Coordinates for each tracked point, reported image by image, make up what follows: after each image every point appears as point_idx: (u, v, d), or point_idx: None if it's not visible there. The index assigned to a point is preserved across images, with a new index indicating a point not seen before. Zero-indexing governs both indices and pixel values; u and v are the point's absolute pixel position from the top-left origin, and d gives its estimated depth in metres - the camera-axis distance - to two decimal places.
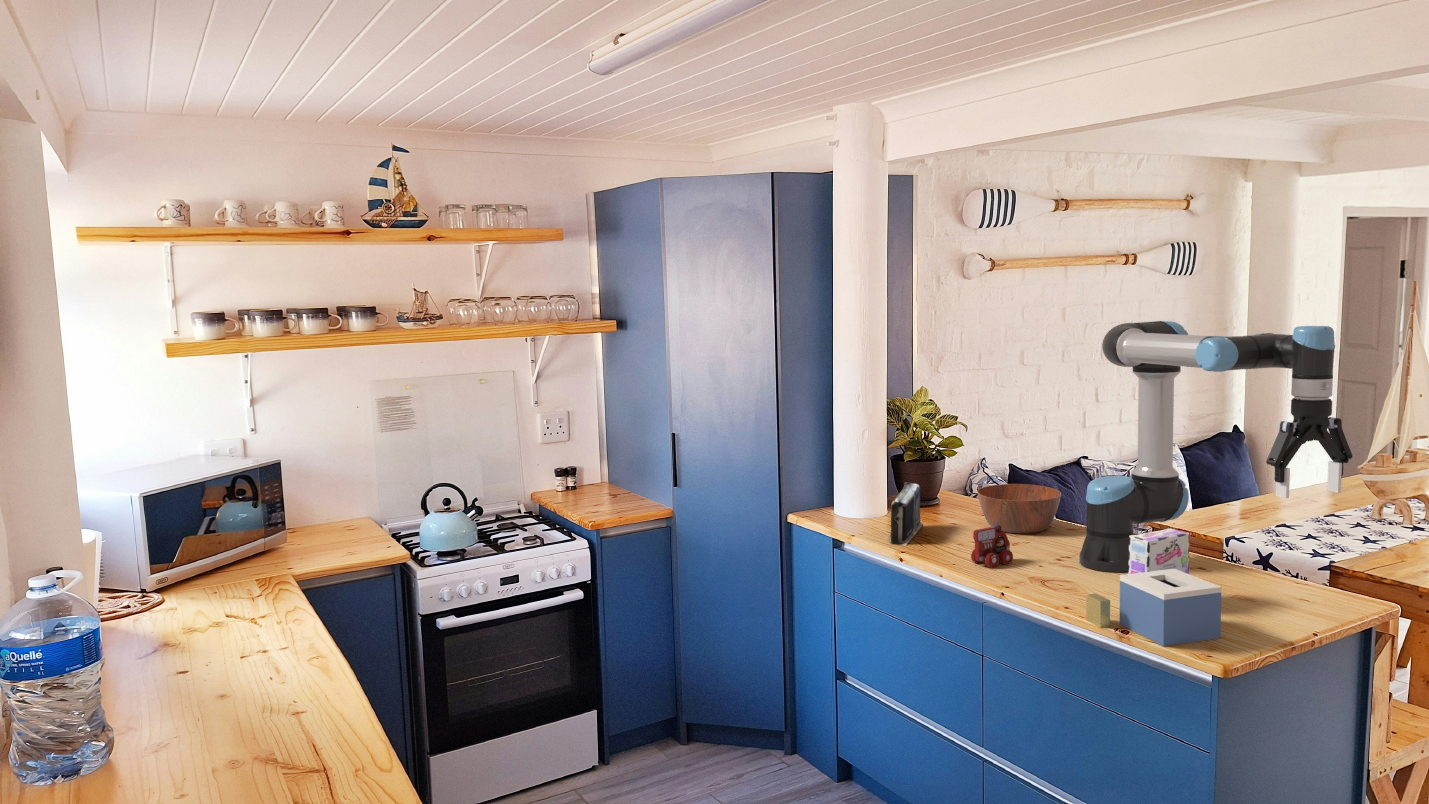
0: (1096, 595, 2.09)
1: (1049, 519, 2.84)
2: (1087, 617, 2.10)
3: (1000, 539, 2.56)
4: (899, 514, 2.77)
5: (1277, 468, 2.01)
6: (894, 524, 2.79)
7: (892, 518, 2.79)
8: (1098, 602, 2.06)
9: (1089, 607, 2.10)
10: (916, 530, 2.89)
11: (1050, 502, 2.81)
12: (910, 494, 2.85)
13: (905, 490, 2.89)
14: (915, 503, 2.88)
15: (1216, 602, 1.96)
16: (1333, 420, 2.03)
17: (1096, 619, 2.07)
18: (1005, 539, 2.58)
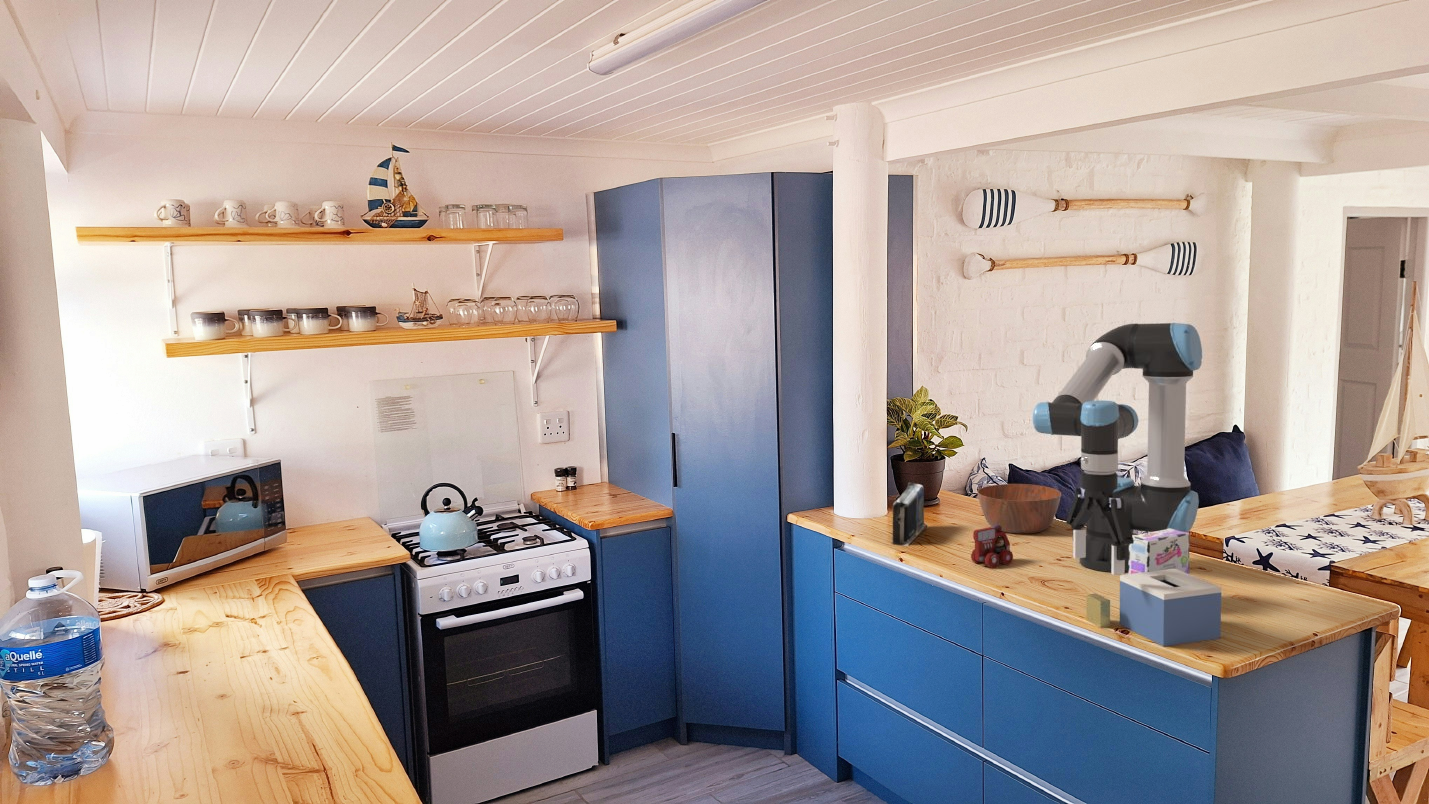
0: (1096, 595, 2.09)
1: (1049, 519, 2.84)
2: (1087, 617, 2.10)
3: (1000, 539, 2.56)
4: (900, 514, 2.77)
5: None
6: (895, 524, 2.78)
7: (894, 518, 2.78)
8: (1098, 602, 2.06)
9: (1089, 607, 2.10)
10: (919, 531, 2.89)
11: (1050, 502, 2.81)
12: (913, 494, 2.84)
13: (908, 490, 2.88)
14: (918, 504, 2.88)
15: (1216, 602, 1.96)
16: None
17: (1096, 619, 2.07)
18: (1005, 539, 2.58)
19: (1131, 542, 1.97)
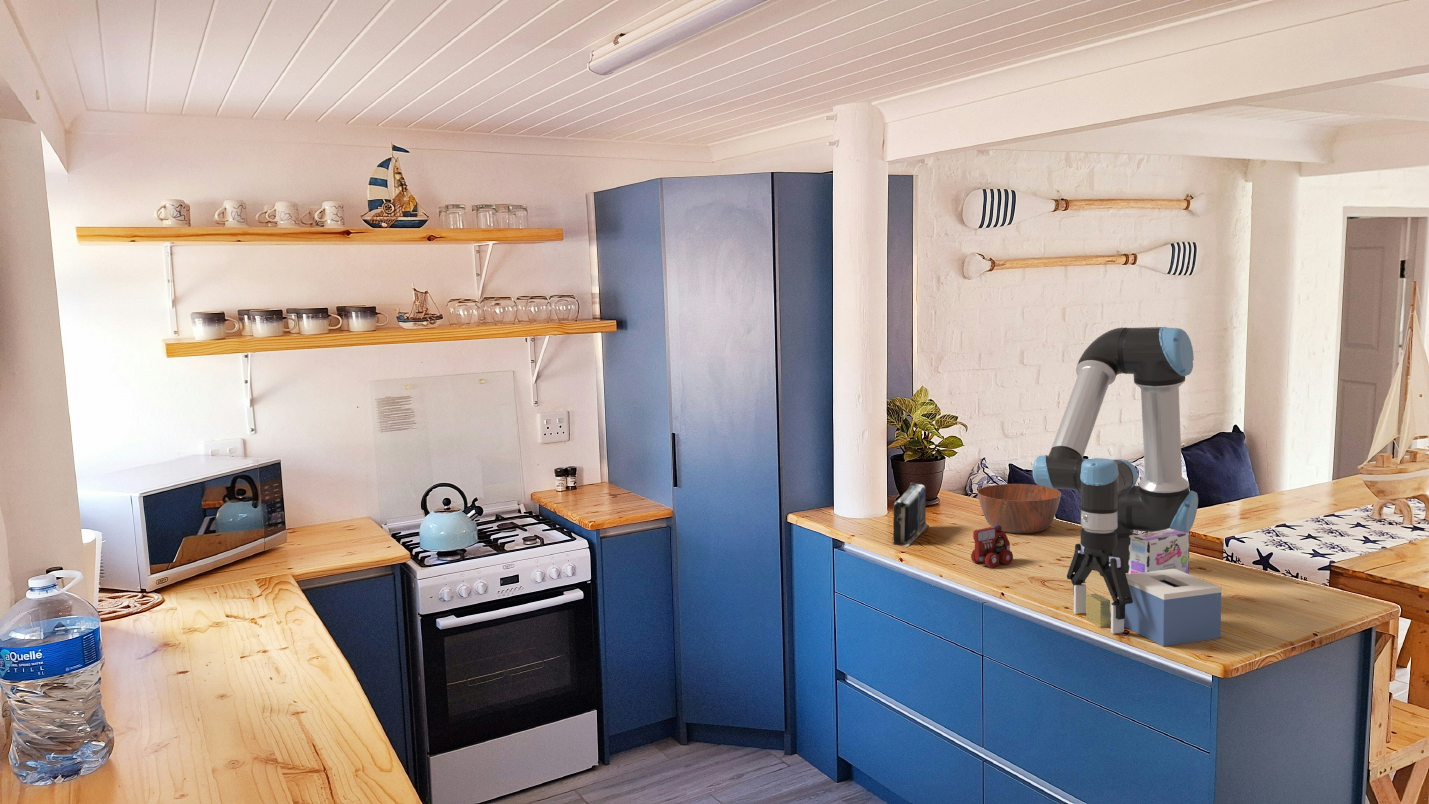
0: (1096, 595, 2.09)
1: (1049, 519, 2.84)
2: (1087, 617, 2.10)
3: (1000, 539, 2.56)
4: (901, 514, 2.77)
5: None
6: (896, 524, 2.78)
7: (894, 518, 2.78)
8: (1098, 602, 2.06)
9: (1089, 607, 2.10)
10: (920, 531, 2.88)
11: (1050, 502, 2.81)
12: (914, 495, 2.84)
13: (909, 490, 2.88)
14: (919, 504, 2.87)
15: (1216, 602, 1.96)
16: None
17: (1096, 619, 2.07)
18: (1005, 539, 2.58)
19: (1130, 602, 1.98)
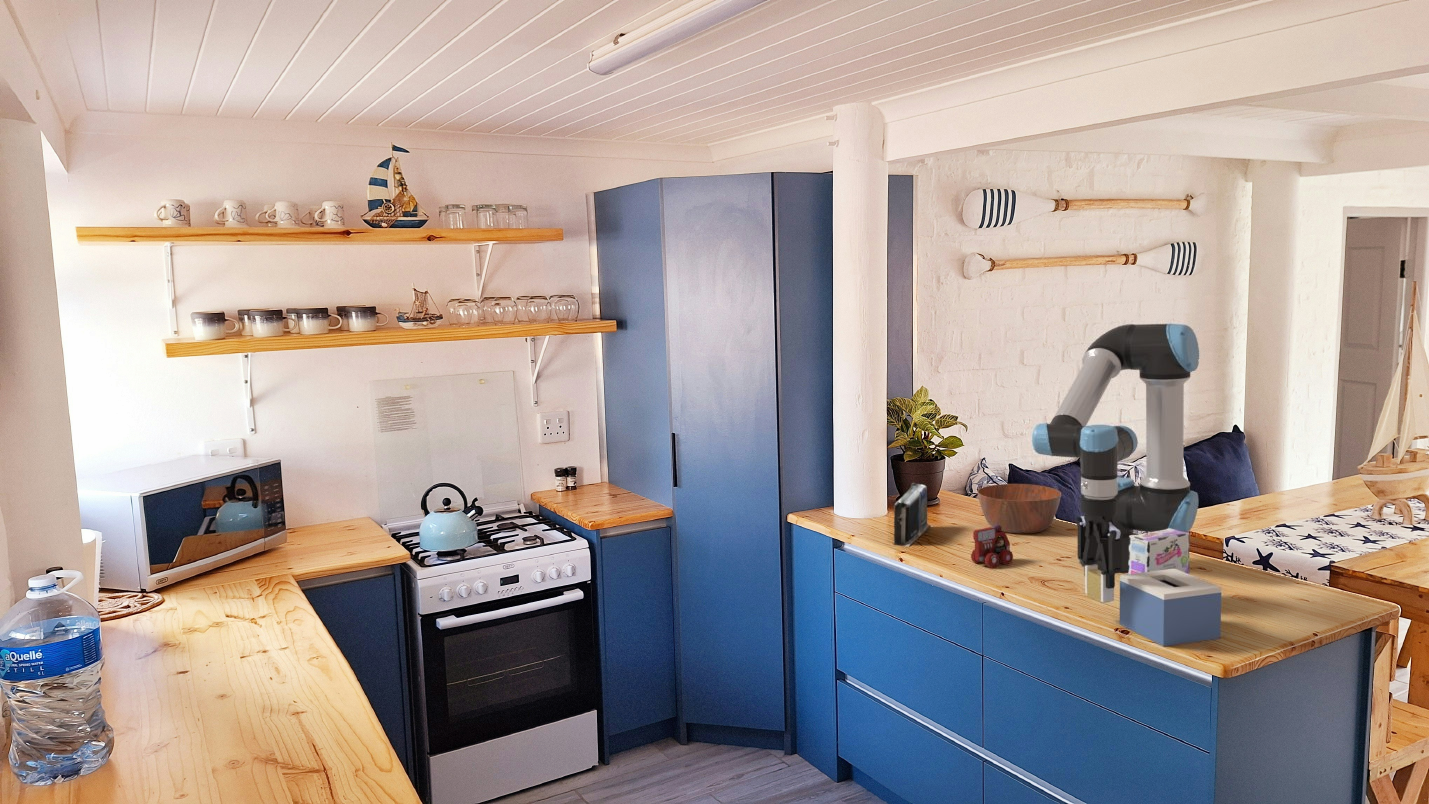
0: (1097, 570, 2.09)
1: (1049, 519, 2.84)
2: (1088, 593, 2.10)
3: (1000, 539, 2.56)
4: (902, 514, 2.76)
5: None
6: (897, 524, 2.78)
7: (895, 519, 2.78)
8: (1099, 577, 2.06)
9: (1089, 583, 2.09)
10: (922, 531, 2.88)
11: (1050, 502, 2.81)
12: (915, 495, 2.84)
13: (911, 491, 2.88)
14: (921, 504, 2.87)
15: (1216, 602, 1.96)
16: (1113, 530, 2.01)
17: (1097, 595, 2.07)
18: (1005, 539, 2.58)
19: (1119, 572, 2.02)
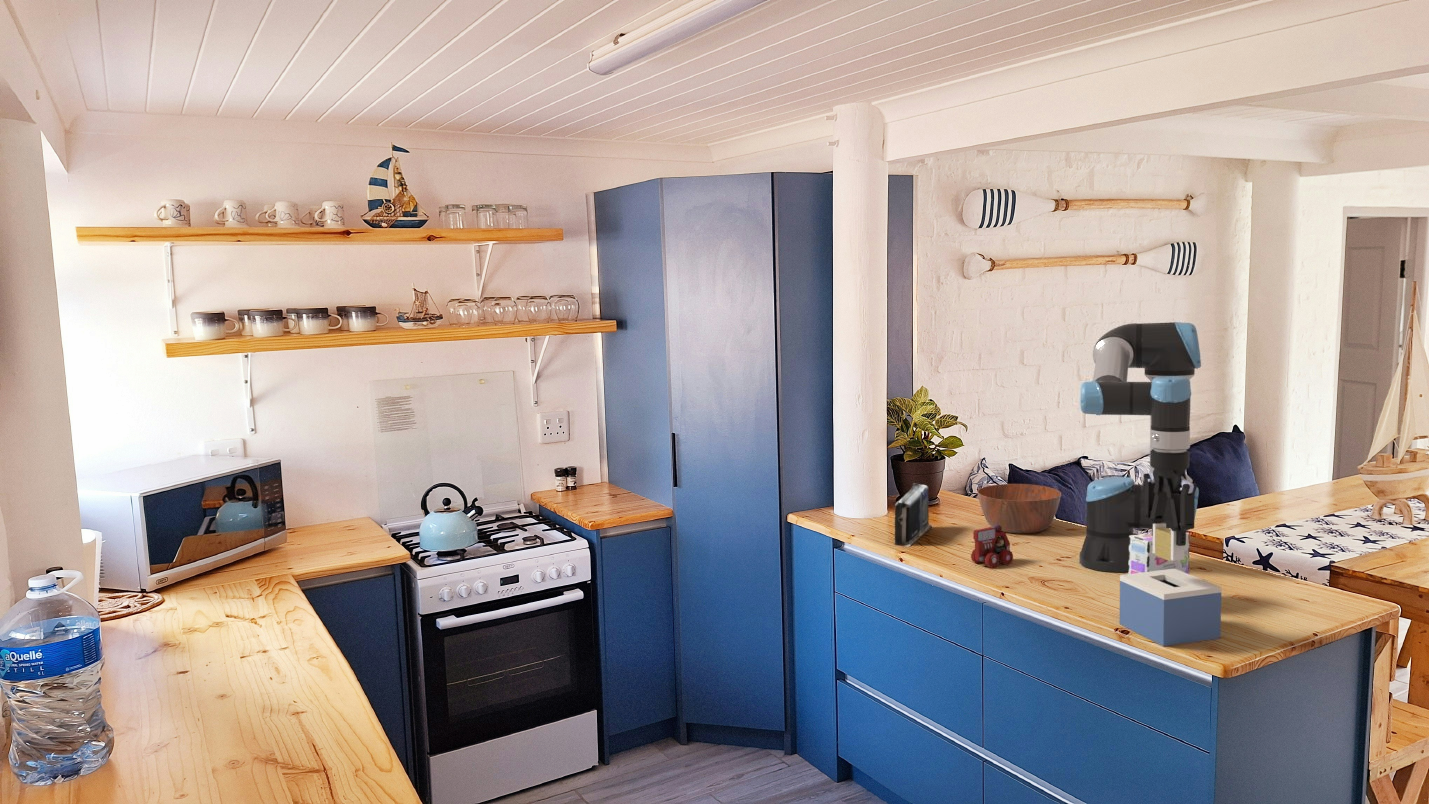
0: (1165, 528, 2.01)
1: (1049, 519, 2.84)
2: (1155, 552, 2.02)
3: (1000, 539, 2.56)
4: (902, 514, 2.76)
5: None
6: (897, 524, 2.78)
7: (896, 519, 2.78)
8: (1169, 534, 1.98)
9: (1158, 541, 2.02)
10: (923, 531, 2.88)
11: (1050, 502, 2.81)
12: (916, 495, 2.83)
13: (912, 491, 2.87)
14: (922, 504, 2.86)
15: (1216, 602, 1.96)
16: (1185, 484, 1.93)
17: (1166, 553, 1.99)
18: (1005, 539, 2.58)
19: (1191, 528, 1.94)
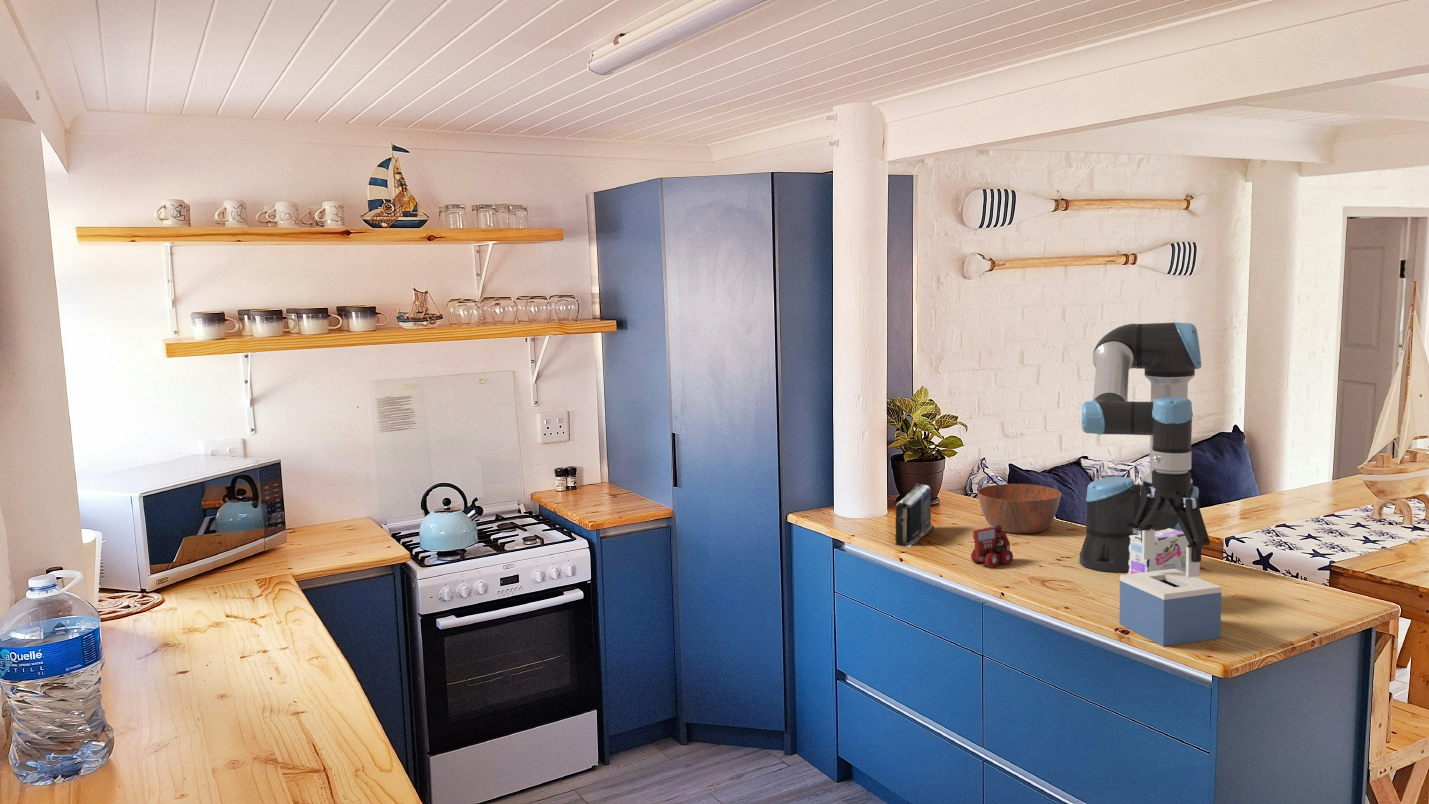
0: None
1: (1049, 519, 2.84)
2: None
3: (1000, 539, 2.56)
4: (903, 515, 2.76)
5: None
6: (898, 525, 2.77)
7: (897, 519, 2.77)
8: None
9: None
10: (924, 532, 2.87)
11: (1050, 502, 2.81)
12: (917, 495, 2.83)
13: (913, 491, 2.87)
14: (923, 505, 2.86)
15: (1216, 602, 1.96)
16: None
17: None
18: (1005, 539, 2.58)
19: (1207, 543, 1.91)
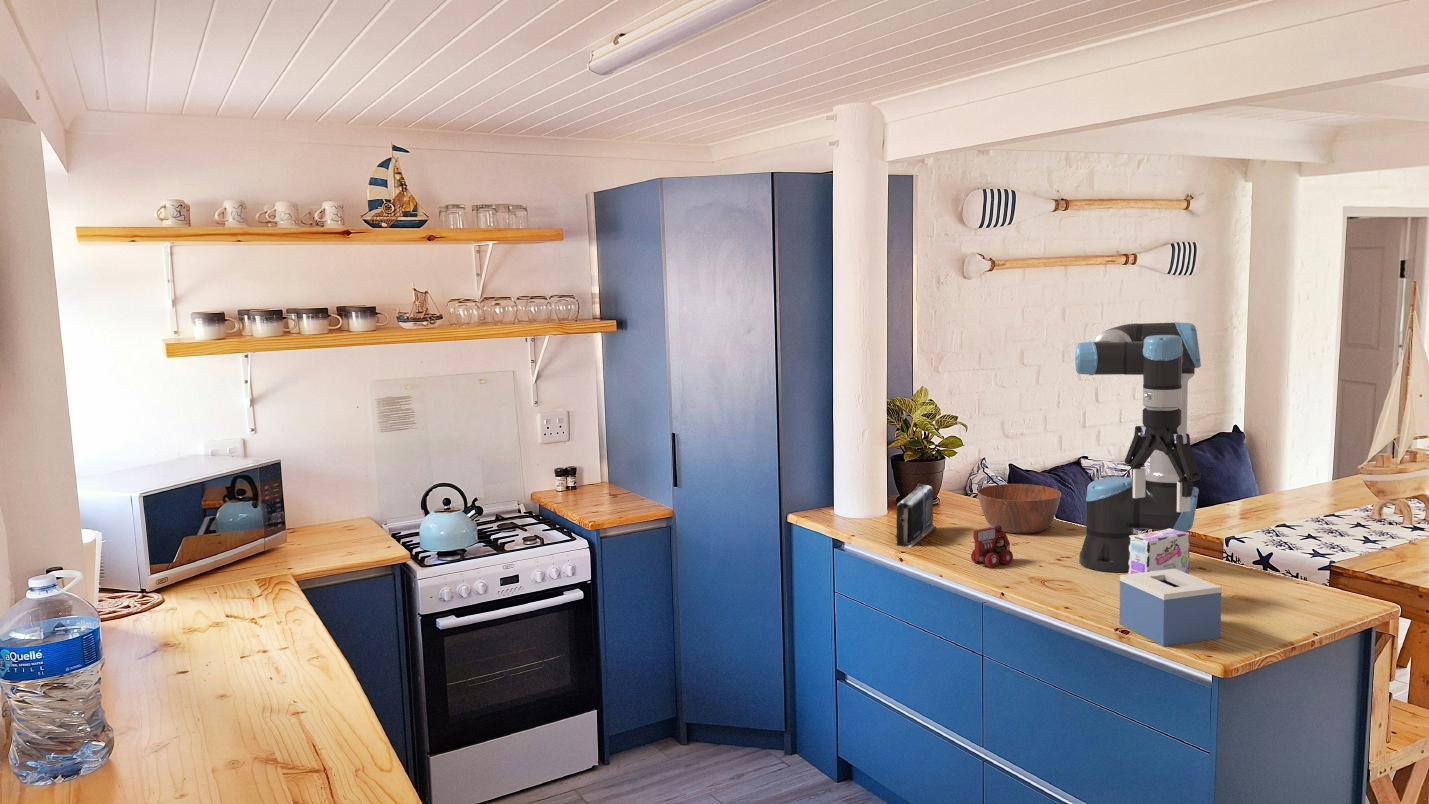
0: None
1: (1049, 519, 2.84)
2: None
3: (1000, 539, 2.56)
4: (904, 515, 2.76)
5: None
6: (899, 525, 2.77)
7: (897, 519, 2.77)
8: None
9: None
10: (926, 532, 2.87)
11: (1050, 502, 2.81)
12: (919, 496, 2.82)
13: (915, 491, 2.86)
14: (925, 505, 2.85)
15: (1216, 602, 1.96)
16: None
17: None
18: (1005, 539, 2.58)
19: (1198, 478, 1.92)
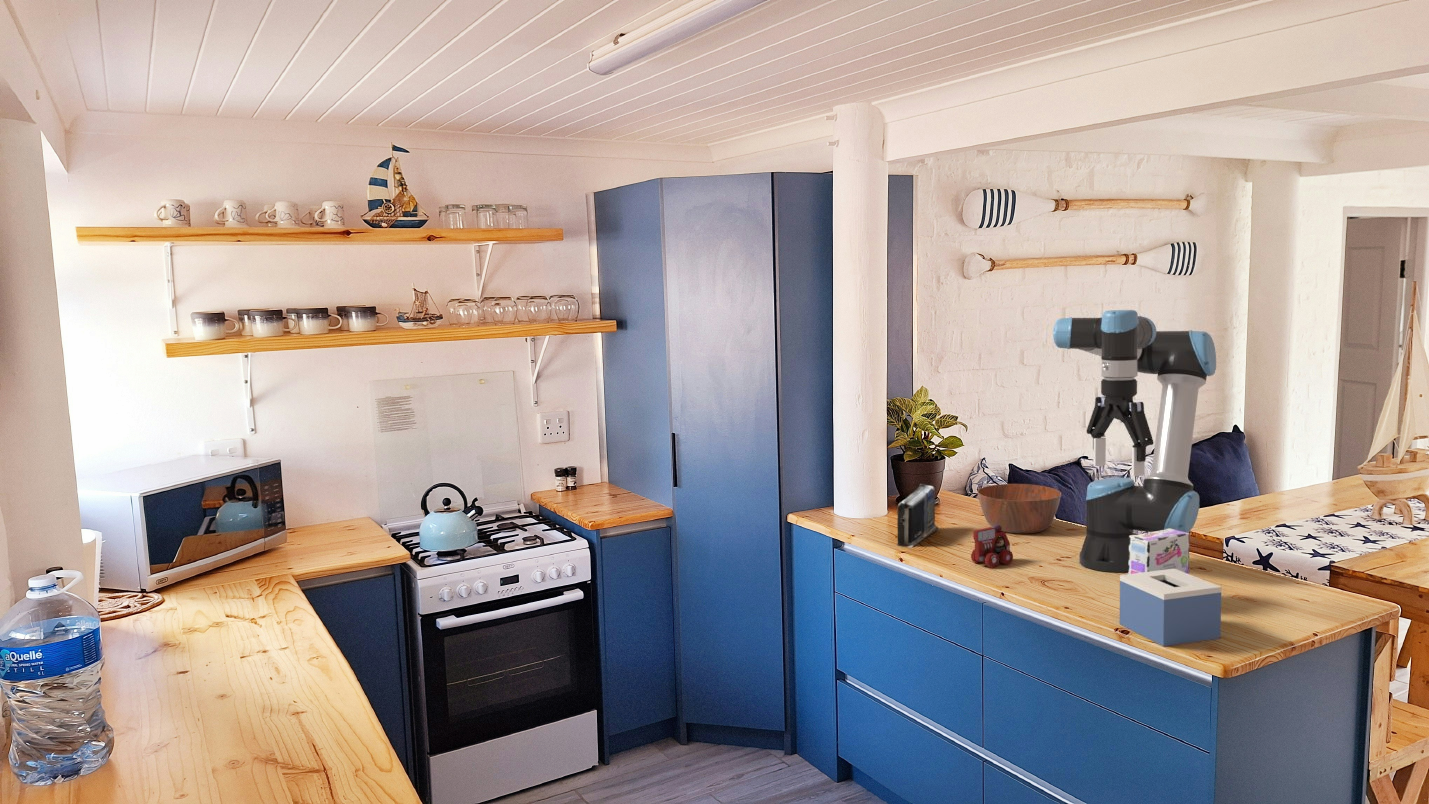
0: None
1: (1049, 519, 2.84)
2: None
3: (1000, 539, 2.56)
4: (905, 515, 2.75)
5: None
6: (900, 525, 2.77)
7: (898, 519, 2.77)
8: None
9: None
10: (928, 532, 2.86)
11: (1050, 502, 2.81)
12: (920, 496, 2.82)
13: (917, 492, 2.86)
14: (927, 505, 2.85)
15: (1216, 602, 1.96)
16: None
17: None
18: (1005, 539, 2.58)
19: (1151, 443, 2.04)
